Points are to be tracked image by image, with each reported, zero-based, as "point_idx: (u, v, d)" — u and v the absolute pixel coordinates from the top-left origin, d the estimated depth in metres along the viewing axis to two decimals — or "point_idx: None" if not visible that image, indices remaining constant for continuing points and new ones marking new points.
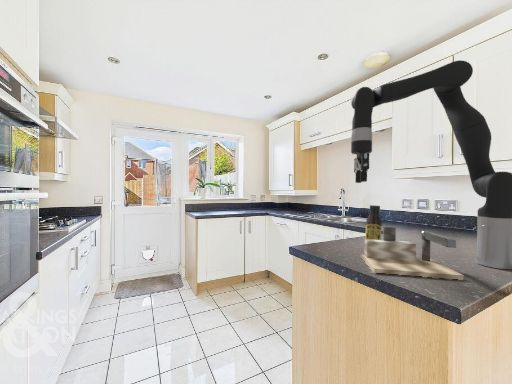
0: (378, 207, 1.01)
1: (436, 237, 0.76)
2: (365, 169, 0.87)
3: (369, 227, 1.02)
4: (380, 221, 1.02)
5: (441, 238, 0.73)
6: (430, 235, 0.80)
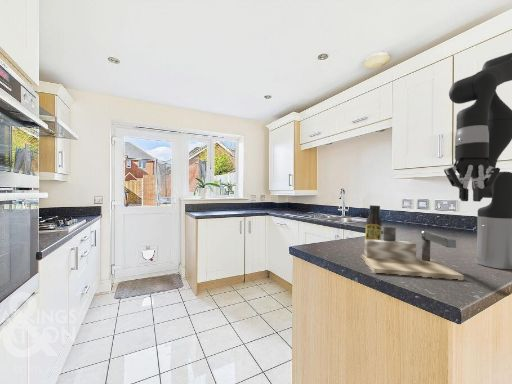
0: (378, 207, 1.01)
1: (436, 237, 0.76)
2: None
3: (369, 227, 1.02)
4: (380, 221, 1.02)
5: (441, 238, 0.73)
6: (430, 235, 0.80)
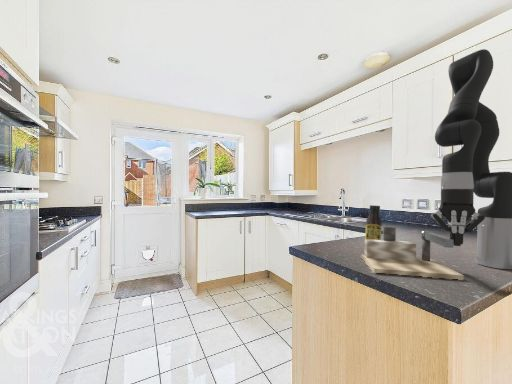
0: (378, 207, 1.01)
1: (435, 237, 0.76)
2: None
3: (369, 227, 1.02)
4: (380, 221, 1.02)
5: (439, 238, 0.73)
6: (429, 235, 0.80)
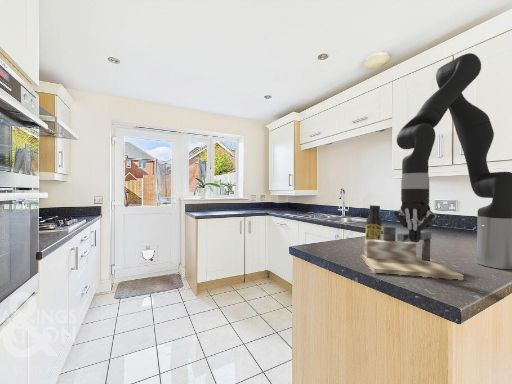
0: (378, 207, 1.01)
1: None
2: None
3: (369, 227, 1.02)
4: (380, 221, 1.02)
5: None
6: None
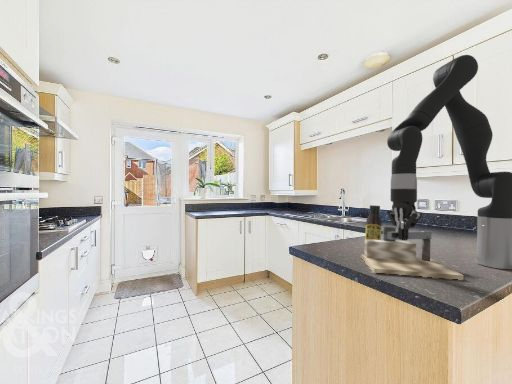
0: (378, 207, 1.01)
1: None
2: (409, 227, 0.77)
3: (369, 227, 1.02)
4: (380, 221, 1.02)
5: None
6: None
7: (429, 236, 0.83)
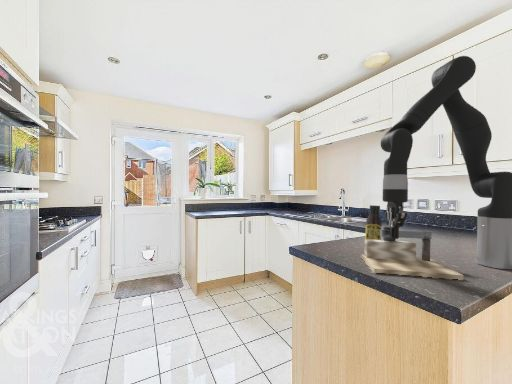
0: (378, 207, 1.01)
1: None
2: (398, 226, 0.80)
3: (369, 227, 1.02)
4: (380, 221, 1.02)
5: None
6: None
7: (427, 236, 0.83)
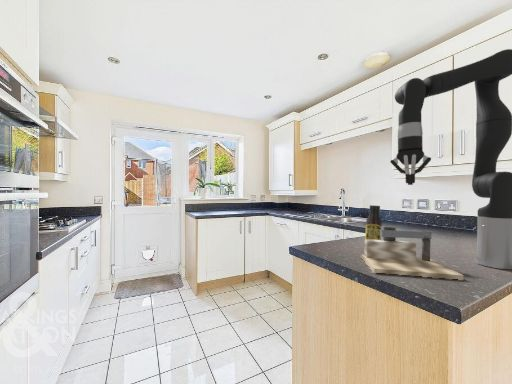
0: (378, 207, 1.01)
1: None
2: (418, 172, 0.85)
3: (369, 227, 1.02)
4: (380, 221, 1.02)
5: None
6: None
7: (427, 236, 0.83)
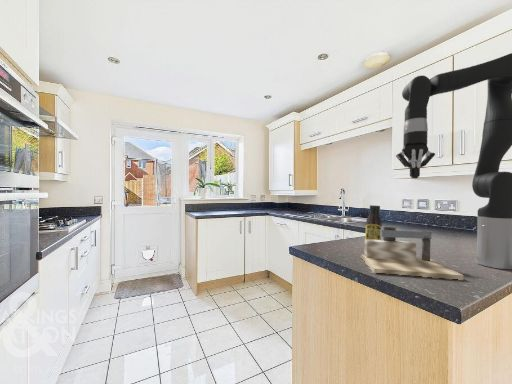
0: (378, 207, 1.01)
1: None
2: (421, 166, 0.89)
3: (369, 227, 1.02)
4: (380, 221, 1.02)
5: None
6: None
7: (427, 236, 0.83)
